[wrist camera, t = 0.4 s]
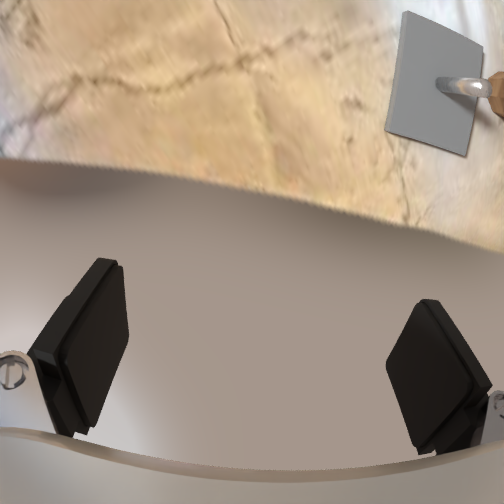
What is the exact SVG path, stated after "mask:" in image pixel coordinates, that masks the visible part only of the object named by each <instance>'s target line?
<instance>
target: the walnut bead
mask: <svg viewBox="0 0 504 504" xmlns="http://www.w3.org/2000/svg"><path fill="white" fill-rule="evenodd" d="M488 81H489V82H490V83H491V86H492V94H491V96H490V97H489V98H488V101H489V103H490V105H491V108H492V110H493V112H494V113H496V114H498V115H500V116H502V117H504V72H497V73H496V74H494V75H493V76H491V77H490V78H489V79H488Z"/></svg>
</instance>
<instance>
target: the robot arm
mask: <svg viewBox="0 0 504 504" xmlns="http://www.w3.org/2000/svg"><path fill="white" fill-rule="evenodd" d="M128 338H129V329H128V321H127V311H126V301H125V288H124V275H123V267H122V266H118V263H117V261H116V260H112V259H105V258H98V259H97V260H96V261H95V262H94V263H93V265H92V266H91V267H90V268H89V270H88V271H87V272H86V274H85V275H84V276H83V278H82V279H81V280H80V282H79V283H78V284H77V286H76V287H75V288H74V289H73V291H72V292H71V294H70V295H69V296H67V297H66V298H65V299H64V300H63V301H62V303H61V304H60V305H59V307H58V308H57V310H56V311H55V312H54V314H53V315H52V317H51V318H50V320H49V321H48V322H47V324H46V325H45V327H44V328H43V330H42V331H41V333H40V334H39V336H38V337H37V339H36V340H35V342H34V343H33V345H32V346H31V348H30V349H29V351H28V352H27V354H24V353H22V352H20V351H6V352H3V353H1V354H0V504H504V391H499V390H497V391H494V392H493V393H492V394H491V395H490V396H488V394H487V392H488V391H489V390H490V388H491V387H492V383H491V382H490V380H489V378H488V376H487V375H486V373H485V371H484V370H483V368H482V366H481V365H480V363H479V361H478V360H477V358H476V357H475V355H474V353H473V352H472V350H471V349H470V347H469V345H468V344H467V342H466V341H465V339H464V337H463V336H462V334H461V333H460V331H459V330H458V328H457V327H456V326H455V324H454V322H453V321H452V319H451V318H450V316H449V315H448V313H447V312H446V311H445V309H444V308H443V307H442V305H441V303H440V302H439V301H437V300H430V299H422V300H421V301H420V302H419V303H417V304H416V305H415V307H414V309H413V311H412V313H411V315H410V317H409V319H408V321H407V323H406V325H405V327H404V329H403V331H402V333H401V335H400V336H399V338H398V340H397V343H396V344H395V346H394V348H393V350H392V351H391V353H390V355H389V357H388V359H387V361H386V370H387V373H388V376H389V379H390V381H391V384H392V387H393V389H394V392H395V395H396V398H397V400H398V403H399V406H400V409H401V412H402V415H403V418H404V421H405V423H406V427H407V430H408V433H409V436H410V439H411V442H412V444H413V446H414V447H416V448H417V451H418V455H422V454H427V453H431V452H432V451H434V450H435V451H436V453H437V454H436V455H435V456H432V457H427V458H422V459H417V460H411V461H405V462H399V463H392V464H384V465H376V466H368V467H358V468H346V469H330V470H302V471H301V470H299V471H298V470H296V471H287V470H286V471H285V470H254V469H238V468H226V467H215V466H207V465H199V464H191V463H184V462H178V461H172V460H165V459H161V458H155V457H150V456H145V455H139V454H135V453H130V452H126V451H121V450H117V449H113V448H109V447H105V446H101V445H97V444H94V443H89V442H86V441H81V440H78V439H74V438H73V435H74V433H75V432H78V433H81V434H84V435H87V434H88V431H89V428H90V427H95V426H96V424H97V421H98V418H99V416H100V413H101V410H102V407H103V405H104V402H105V399H106V397H107V394H108V391H109V389H110V386H111V383H112V381H113V378H114V376H115V373H116V371H117V368H118V366H119V363H120V361H121V358H122V356H123V353H124V351H125V348H126V346H127V343H128Z"/></svg>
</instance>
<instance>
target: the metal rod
mask: <svg viewBox="0 0 504 504" xmlns="http://www.w3.org/2000/svg"><path fill="white" fill-rule="evenodd" d="M435 85H436V88H437V89H438V90H439V91H440V92H446V93H454V94H462V95H470V96H477V97H483V98H489V97H490V96H491V94H492V86H491V83H490V82H489V81H488V80H487V79H480V78H464V77H438V78H437V79H436V81H435Z"/></svg>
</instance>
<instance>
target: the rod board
mask: <svg viewBox="0 0 504 504" xmlns="http://www.w3.org/2000/svg"><path fill="white" fill-rule="evenodd" d="M482 56H483V46H481V45H479V44H477V43H475V42H474V41H472V40H470V39H468V38H466V37H464V36H462V35H461V34H459V33H457V32H455V31H453V30H451V29H449V28H446V27H444V26H442V25H440V24H438V23H436V22H434V21H431V20H429V19H427V18H424V17H422V16H420V15H417V14H415V13H412V12H410V11H405V12H403V13H402V22H401V31H400V39H399V47H398V54H397V61H396V68H395V74H394V80H393V86H392V92H391V98H390V103H389V109H388V114H387V119H386V124H385V129H384V130H385V131H388V132H391V133H395V134H398V135H402V136H405V137H409V138H412V139H415V140H419V141H422V142H425V143H428V144H431V145H434V146H437V147H440V148H443V149H446V150H449V151H452V152H455V153H458V154H460V155H463V156H465V154H466V150H467V146H468V142H469V137H470V132H471V128H472V123H473V118H474V112H475V107H476V101H477V96H470V95H462V94H454V93H446V92H440V91H439V90H438V89H437V88H436V85H435V81H436V79H437V78H438V77H464V78H480V74H481V65H482Z"/></svg>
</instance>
